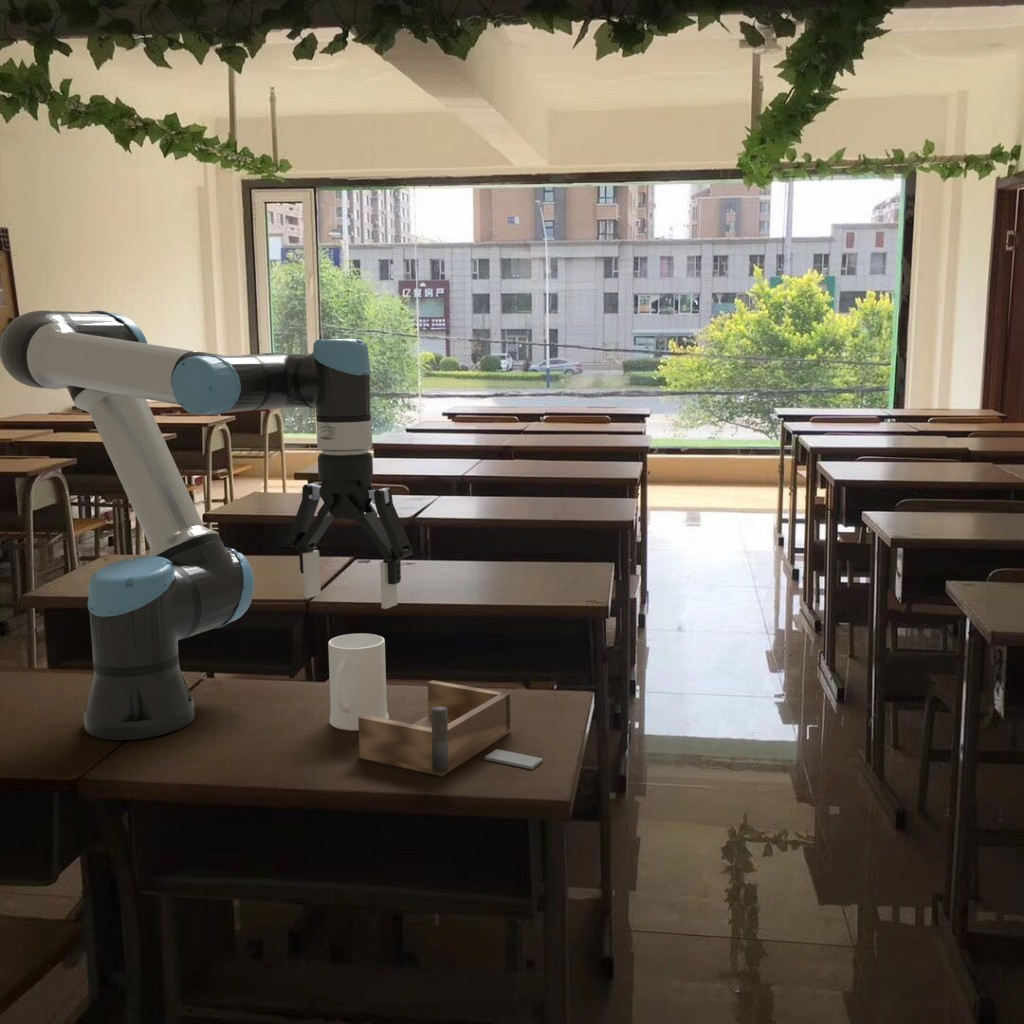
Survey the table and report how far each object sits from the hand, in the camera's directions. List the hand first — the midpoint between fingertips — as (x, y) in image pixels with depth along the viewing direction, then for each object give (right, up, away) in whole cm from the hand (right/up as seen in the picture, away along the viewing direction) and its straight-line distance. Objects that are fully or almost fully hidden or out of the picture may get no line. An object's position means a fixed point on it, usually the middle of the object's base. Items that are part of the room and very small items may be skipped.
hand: (350, 601), depth 152 cm
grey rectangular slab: (+23, -20, -11) cm, 32 cm away
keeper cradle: (+13, -19, -5) cm, 24 cm away
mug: (0, -18, +3) cm, 18 cm away
